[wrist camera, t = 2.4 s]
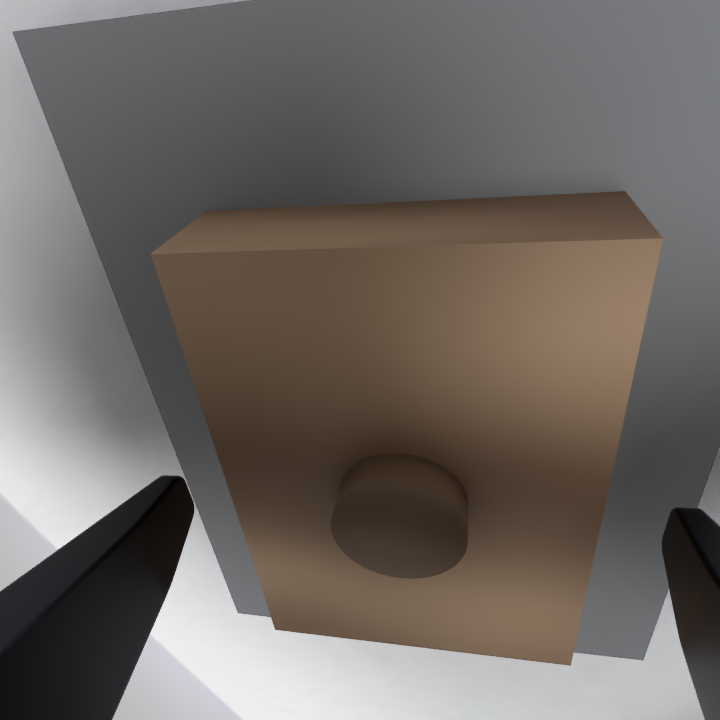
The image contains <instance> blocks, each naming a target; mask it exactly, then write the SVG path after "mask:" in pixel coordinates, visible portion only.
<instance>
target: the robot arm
mask: <svg viewBox="0 0 720 720" xmlns="http://www.w3.org/2000/svg"><path fill="white" fill-rule="evenodd" d="M193 515H194V503H193V500H192V498H191V495H190V492H189V490H188V487H187V485H186V482H185V480H184V479H183V478H182V477H180V476H169V475H164V476H161V477H159V478H158V479H156V480H155V481H153V482H152V483H151V484H149V485H148V486H146V487H145V488H144V489H142V490H141V491H139V492H138V493H137V494H135V495H134V496H132V497H131V498H130V499H128V500H127V501H125V502H124V503H123V504H121V505H120V506H119V507H117V508H116V509H114V510H113V511H112V512H110V513H109V514H107V515H106V516H105V517H103V518H102V519H100V520H99V521H98V522H96V523H95V524H93V525H92V526H91V527H89V528H88V529H86V530H85V531H84V532H82V533H81V534H80V535H78V536H77V537H75V538H74V539H73V540H71V541H70V542H68V543H67V544H66V545H64V546H63V547H61V548H60V549H59V550H57V551H56V552H55V553H53V554H52V555H50V556H49V557H47V558H46V559H45V560H43V561H42V562H41V563H39V564H38V565H36V566H35V567H34V568H32V569H31V570H29V571H28V572H27V573H25V574H24V575H22V576H21V577H20V578H18V579H17V580H16V581H14V582H13V583H11V584H10V585H9V586H7V587H6V588H4V589H3V590H2V591H0V720H112V719H113V716H114V714H115V712H116V710H117V707H118V705H119V703H120V700H121V698H122V696H123V694H124V691H125V689H126V687H127V685H128V682H129V680H130V678H131V675H132V673H133V671H134V669H135V666H136V664H137V662H138V659H139V657H140V655H141V653H142V650H143V648H144V646H145V643H146V641H147V639H148V637H149V634H150V632H151V630H152V628H153V625H154V623H155V621H156V618H157V616H158V614H159V612H160V609H161V607H162V605H163V602H164V600H165V598H166V595H167V593H168V591H169V588H170V586H171V583H172V580H173V577H174V574H175V571H176V568H177V565H178V562H179V559H180V556H181V553H182V550H183V547H184V543H185V540H186V537H187V534H188V531H189V528H190V525H191V522H192V519H193ZM662 555H663V560H664V565H665V570H666V575H667V580H668V585H669V590H670V595H671V600H672V605H673V610H674V615H675V620H676V624H677V629H678V634H679V638H680V642H681V646H682V649H683V653H684V656H685V659H686V662H687V666H688V669H689V672H690V675H691V678H692V681H693V684H694V687H695V690H696V693H697V697H698V700H699V703H700V706H701V709H702V712H703V715H704V718H705V720H720V526H719V525H718V524H717V523H716V522H715V521H714V520H713V519H712V518H710V517H709V516H708V515H707V514H706V513H705V512H704V511H702V510H700V509H697V508H684V507H675V508H673V509H672V510H671V512H670V515H669V518H668V521H667V524H666V527H665V530H664V534H663V537H662Z"/></svg>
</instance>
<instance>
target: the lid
mask: <svg viewBox="0 0 720 720" xmlns="http://www.w3.org/2000/svg"><path fill="white" fill-rule="evenodd" d="M662 242H663V237H662V236H661V235H660V234H659V232H658V231H657V230H656V229H655V227H654V226H653V225H652V224H651V222H650V221H649V220H648V219H647V218H646V216H645V215H644V214H643V213H642V211H641V210H640V209H639V208H638V206H637V205H636V204H635V203H634V201H633V200H632V199H631V198H630V196H629V195H628V194H627V193H626V191H619V192H598V193H577V194H556V195H535V196H513V197H492V198H471V199H450V200H429V201H408V202H387V203H366V204H345V205H324V206H303V207H282V208H260V209H239V210H218V211H205V212H204V213H203V214H201V215H200V216H199V217H197V218H196V219H195V220H194V221H192V222H191V223H190V224H188V225H187V226H186V227H185V228H183V229H182V230H181V231H179V232H178V233H177V234H176V235H174V236H173V237H172V238H170V239H169V240H168V241H167V242H165V243H164V244H163V245H161V246H160V247H159V248H158V249H156V250H155V251H154V252H152V253H151V257H152V260H153V263H154V266H155V269H156V272H157V275H158V278H159V281H160V284H161V287H162V290H163V293H164V296H165V299H166V302H167V305H168V308H169V311H170V314H171V317H172V320H173V323H174V326H175V329H176V332H177V335H178V338H179V341H180V344H181V347H182V350H183V353H184V356H185V359H186V362H187V365H188V368H189V371H190V374H191V377H192V380H193V384H194V387H195V390H196V393H197V396H198V399H199V402H200V405H201V408H202V411H203V414H204V417H205V420H206V423H207V426H208V429H209V432H210V435H211V438H212V441H213V444H214V447H215V450H216V453H217V456H218V459H219V462H220V465H221V468H222V471H223V474H224V477H225V480H226V483H227V486H228V489H229V492H230V495H231V498H232V501H233V504H234V507H235V510H236V513H237V516H238V519H239V522H240V525H241V528H242V531H243V534H244V537H245V540H246V543H247V546H248V549H249V552H250V555H251V558H252V561H253V564H254V567H255V570H256V573H257V576H258V579H259V582H260V585H261V588H262V591H263V594H264V597H265V600H266V603H267V606H268V609H269V612H270V615H271V618H272V621H273V624H274V627H275V630H283V631H291V632H299V633H307V634H316V635H324V636H332V637H340V638H349V639H357V640H365V641H373V642H382V643H390V644H398V645H406V646H414V647H423V648H431V649H439V650H447V651H456V652H464V653H472V654H480V655H489V656H497V657H505V658H513V659H522V660H530V661H538V662H546V663H555V664H563V665H571V661H572V656H573V652H574V647H575V643H576V638H577V633H578V629H579V624H580V620H581V615H582V610H583V606H584V601H585V596H586V592H587V587H588V583H589V578H590V573H591V569H592V564H593V560H594V555H595V550H596V546H597V541H598V537H599V532H600V527H601V523H602V518H603V514H604V509H605V504H606V500H607V495H608V491H609V486H610V481H611V477H612V472H613V468H614V463H615V458H616V454H617V449H618V445H619V440H620V435H621V431H622V426H623V422H624V417H625V412H626V408H627V403H628V398H629V394H630V389H631V385H632V380H633V375H634V371H635V366H636V362H637V357H638V352H639V348H640V343H641V339H642V334H643V329H644V325H645V320H646V316H647V311H648V306H649V302H650V297H651V293H652V288H653V283H654V279H655V274H656V270H657V265H658V260H659V256H660V251H661V247H662Z"/></svg>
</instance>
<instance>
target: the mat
mask: <svg viewBox="0 0 720 720" xmlns="http://www.w3.org/2000/svg"><path fill="white" fill-rule="evenodd" d="M13 35H14V37H15V40H16V42H17V45H18V47H19V50H20V53H21V55H22V58H23V60H24V63H25V65H26V68H27V71H28V73H29V76H30V78H31V81H32V83H33V86H34V89H35V91H36V94H37V96H38V99H39V102H40V104H41V107H42V109H43V112H44V114H45V117H46V120H47V122H48V125H49V127H50V130H51V132H52V135H53V138H54V140H55V143H56V145H57V148H58V150H59V153H60V156H61V158H62V161H63V163H64V166H65V169H66V171H67V174H68V176H69V179H70V181H71V184H72V187H73V189H74V192H75V194H76V197H77V199H78V202H79V205H80V207H81V210H82V212H83V215H84V217H85V220H86V223H87V225H88V228H89V230H90V233H91V236H92V238H93V241H94V243H95V246H96V248H97V251H98V254H99V256H100V259H101V261H102V264H103V266H104V269H105V272H106V274H107V277H108V279H109V282H110V284H111V287H112V290H113V292H114V295H115V297H116V300H117V302H118V305H119V308H120V310H121V313H122V315H123V318H124V321H125V323H126V326H127V328H128V331H129V333H130V336H131V339H132V341H133V344H134V346H135V349H136V351H137V354H138V357H139V359H140V362H141V364H142V367H143V369H144V372H145V375H146V377H147V380H148V382H149V385H150V388H151V390H152V393H153V395H154V398H155V400H156V403H157V406H158V408H159V411H160V413H161V416H162V418H163V421H164V424H165V426H166V429H167V431H168V434H169V436H170V439H171V442H172V444H173V447H174V449H175V452H176V455H177V457H178V460H179V462H180V465H181V467H182V470H183V473H184V475H185V478H186V480H187V483H188V485H189V488H190V491H191V493H192V496H193V498H194V501H195V503H196V506H197V509H198V511H199V514H200V516H201V519H202V522H203V524H204V527H205V529H206V532H207V534H208V537H209V540H210V542H211V545H212V547H213V550H214V552H215V555H216V558H217V560H218V563H219V565H220V568H221V570H222V573H223V576H224V578H225V581H226V583H227V586H228V588H229V591H230V594H231V596H232V599H233V601H234V604H235V607H236V609H237V612H238V613H242V614H250V615H259V616H267V617H271V615H270V612H269V609H268V606H267V603H266V600H265V597H264V594H263V591H262V588H261V585H260V582H259V579H258V576H257V573H256V570H255V567H254V564H253V561H252V558H251V555H250V552H249V549H248V546H247V543H246V540H245V537H244V534H243V531H242V528H241V525H240V522H239V519H238V516H237V513H236V510H235V507H234V504H233V501H232V498H231V495H230V492H229V489H228V486H227V483H226V480H225V477H224V474H223V471H222V468H221V465H220V462H219V459H218V456H217V453H216V450H215V447H214V444H213V441H212V438H211V435H210V432H209V429H208V426H207V423H206V420H205V417H204V414H203V411H202V408H201V405H200V402H199V399H198V396H197V393H196V390H195V387H194V384H193V380H192V377H191V374H190V371H189V368H188V365H187V362H186V359H185V356H184V353H183V350H182V347H181V344H180V341H179V338H178V335H177V332H176V329H175V326H174V323H173V320H172V317H171V314H170V311H169V308H168V305H167V302H166V299H165V296H164V293H163V290H162V287H161V284H160V281H159V278H158V275H157V272H156V269H155V266H154V263H153V260H152V257H151V253H152V252H154V251H155V250H156V249H158V248H159V247H160V246H161V245H163V244H164V243H165V242H167V241H168V240H169V239H170V238H172V237H173V236H174V235H176V234H177V233H178V232H179V231H181V230H182V229H183V228H185V227H186V226H187V225H188V224H190V223H191V222H192V221H194V220H195V219H196V218H197V217H199V216H200V215H201V214H203V213H204V212H205V211H218V210H239V209H260V208H282V207H303V206H324V205H345V204H366V203H387V202H408V201H429V200H450V199H471V198H492V197H513V196H535V195H556V194H577V193H598V192H619V191H626V193H627V194H628V195H629V196H630V198H631V199H632V200H633V201H634V203H635V204H636V205H637V206H638V208H639V209H640V210H641V211H642V213H643V214H644V215H645V216H646V218H647V219H648V220H649V221H650V222H651V224H652V225H653V226H654V227H655V229H656V230H657V231H658V232H659V234H660V235H661V236H662V237H663V242H662V247H661V251H660V256H659V260H658V265H657V270H656V274H655V279H654V283H653V288H652V293H651V297H650V302H649V306H648V311H647V316H646V320H645V325H644V329H643V334H642V339H641V343H640V348H639V352H638V357H637V362H636V366H635V371H634V375H633V380H632V385H631V389H630V394H629V398H628V403H627V408H626V412H625V417H624V422H623V426H622V431H621V435H620V440H619V445H618V449H617V454H616V458H615V463H614V468H613V472H612V477H611V481H610V486H609V491H608V495H607V500H606V504H605V509H604V514H603V518H602V523H601V527H600V532H599V537H598V541H597V546H596V550H595V555H594V560H593V564H592V569H591V573H590V578H589V583H588V587H587V592H586V596H585V601H584V606H583V610H582V615H581V620H580V624H579V629H578V633H577V638H576V643H575V647H574V652H577V653H585V654H594V655H602V656H611V657H619V658H628V659H637V660H643V659H644V657H645V654H646V651H647V648H648V645H649V643H650V640H651V637H652V634H653V631H654V628H655V626H656V623H657V620H658V617H659V614H660V612H661V609H662V606H663V603H664V600H665V597H666V595H667V592H668V589H669V585H668V580H667V575H666V570H665V565H664V560H663V555H662V537H663V534H664V530H665V527H666V524H667V521H668V518H669V515H670V512H671V510H672V509H673V508H675V507H684V508H697V507H698V504H699V502H700V499H701V496H702V493H703V490H704V487H705V485H706V482H707V479H708V476H709V473H710V470H711V468H712V465H713V462H714V459H715V456H716V454H717V451H718V448H719V445H720V0H251V1H243V2H236V3H228V4H220V5H213V6H205V7H198V8H190V9H182V10H175V11H167V12H160V13H152V14H144V15H137V16H129V17H122V18H114V19H106V20H99V21H91V22H84V23H76V24H69V25H61V26H53V27H46V28H38V29H31V30H23V31H15V32H13Z"/></svg>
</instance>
